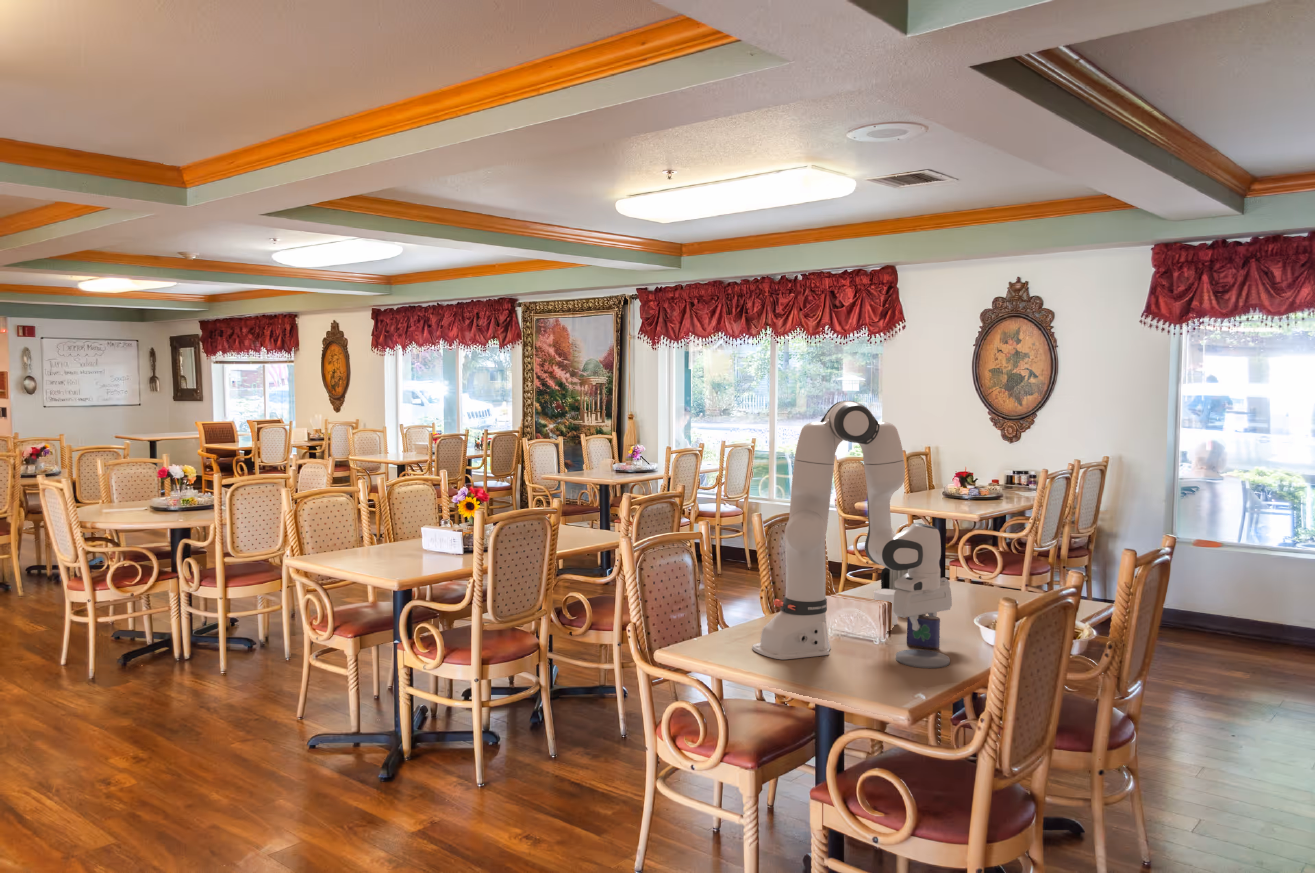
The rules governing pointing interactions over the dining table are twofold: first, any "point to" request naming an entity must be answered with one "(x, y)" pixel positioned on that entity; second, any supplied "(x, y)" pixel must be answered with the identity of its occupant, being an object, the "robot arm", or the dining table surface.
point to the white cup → (886, 596)
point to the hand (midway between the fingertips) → (922, 628)
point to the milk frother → (890, 578)
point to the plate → (922, 658)
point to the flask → (924, 633)
